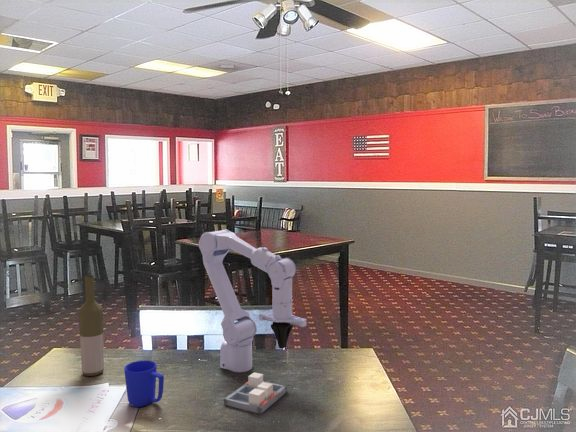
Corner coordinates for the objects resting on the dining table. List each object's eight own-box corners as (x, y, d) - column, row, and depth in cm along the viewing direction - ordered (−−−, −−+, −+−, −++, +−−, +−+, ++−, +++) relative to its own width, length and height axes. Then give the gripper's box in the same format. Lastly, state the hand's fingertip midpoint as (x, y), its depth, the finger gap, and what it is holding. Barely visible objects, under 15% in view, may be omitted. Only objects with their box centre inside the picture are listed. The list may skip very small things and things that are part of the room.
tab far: (248, 390, 137) (248, 376, 136) (254, 386, 140) (254, 372, 139) (257, 392, 135) (257, 378, 135) (263, 388, 138) (263, 374, 138)
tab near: (248, 408, 127) (248, 393, 126) (254, 403, 129) (254, 388, 129) (258, 410, 125) (258, 395, 125) (264, 405, 128) (264, 390, 127)
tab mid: (257, 401, 130) (257, 386, 130) (263, 396, 133) (263, 382, 133) (267, 403, 129) (267, 388, 129) (272, 398, 132) (272, 384, 131)
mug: (150, 416, 124) (149, 378, 123) (118, 404, 131) (117, 368, 130) (174, 403, 131) (173, 367, 130) (142, 393, 138) (141, 358, 137)
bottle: (84, 369, 154) (80, 274, 152) (107, 368, 155) (104, 273, 153) (77, 378, 147) (73, 279, 145) (102, 377, 148) (98, 278, 146)
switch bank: (224, 408, 129) (224, 398, 128) (252, 387, 141) (252, 378, 141) (260, 417, 124) (260, 407, 123) (286, 395, 136) (286, 385, 136)
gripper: (253, 301, 142) (253, 347, 144) (298, 307, 135) (298, 356, 137) (266, 295, 148) (266, 340, 150) (309, 301, 142) (309, 348, 143)
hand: (282, 347), depth 144 cm, fingers closed
